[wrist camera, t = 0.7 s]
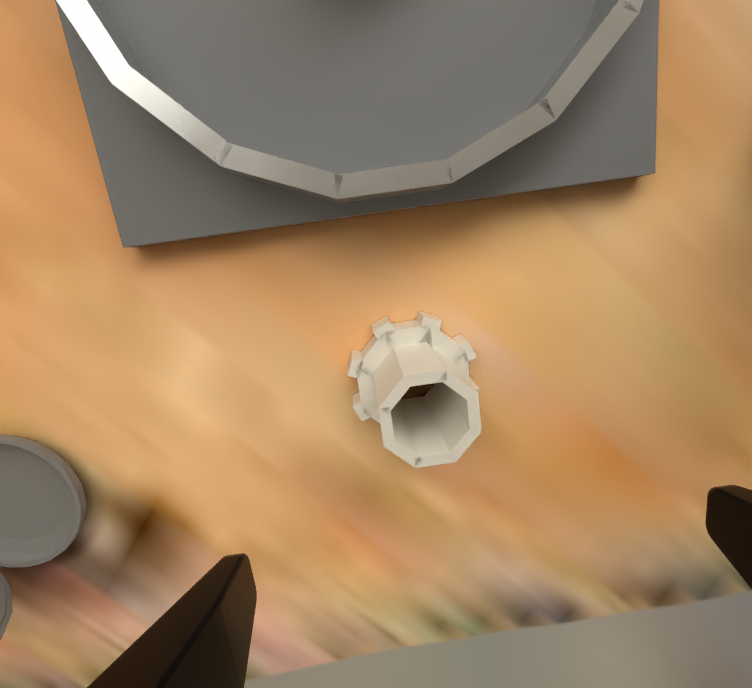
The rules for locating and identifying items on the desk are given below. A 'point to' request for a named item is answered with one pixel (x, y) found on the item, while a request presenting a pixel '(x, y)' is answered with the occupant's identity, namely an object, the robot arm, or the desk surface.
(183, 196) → the tray
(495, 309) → the desk surface
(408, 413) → the gear
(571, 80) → the grey flat ring
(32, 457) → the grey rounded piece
